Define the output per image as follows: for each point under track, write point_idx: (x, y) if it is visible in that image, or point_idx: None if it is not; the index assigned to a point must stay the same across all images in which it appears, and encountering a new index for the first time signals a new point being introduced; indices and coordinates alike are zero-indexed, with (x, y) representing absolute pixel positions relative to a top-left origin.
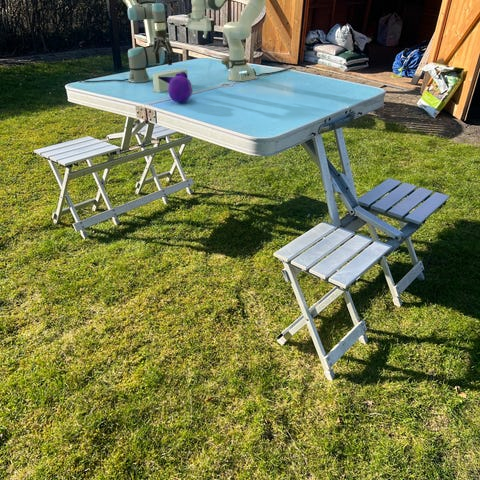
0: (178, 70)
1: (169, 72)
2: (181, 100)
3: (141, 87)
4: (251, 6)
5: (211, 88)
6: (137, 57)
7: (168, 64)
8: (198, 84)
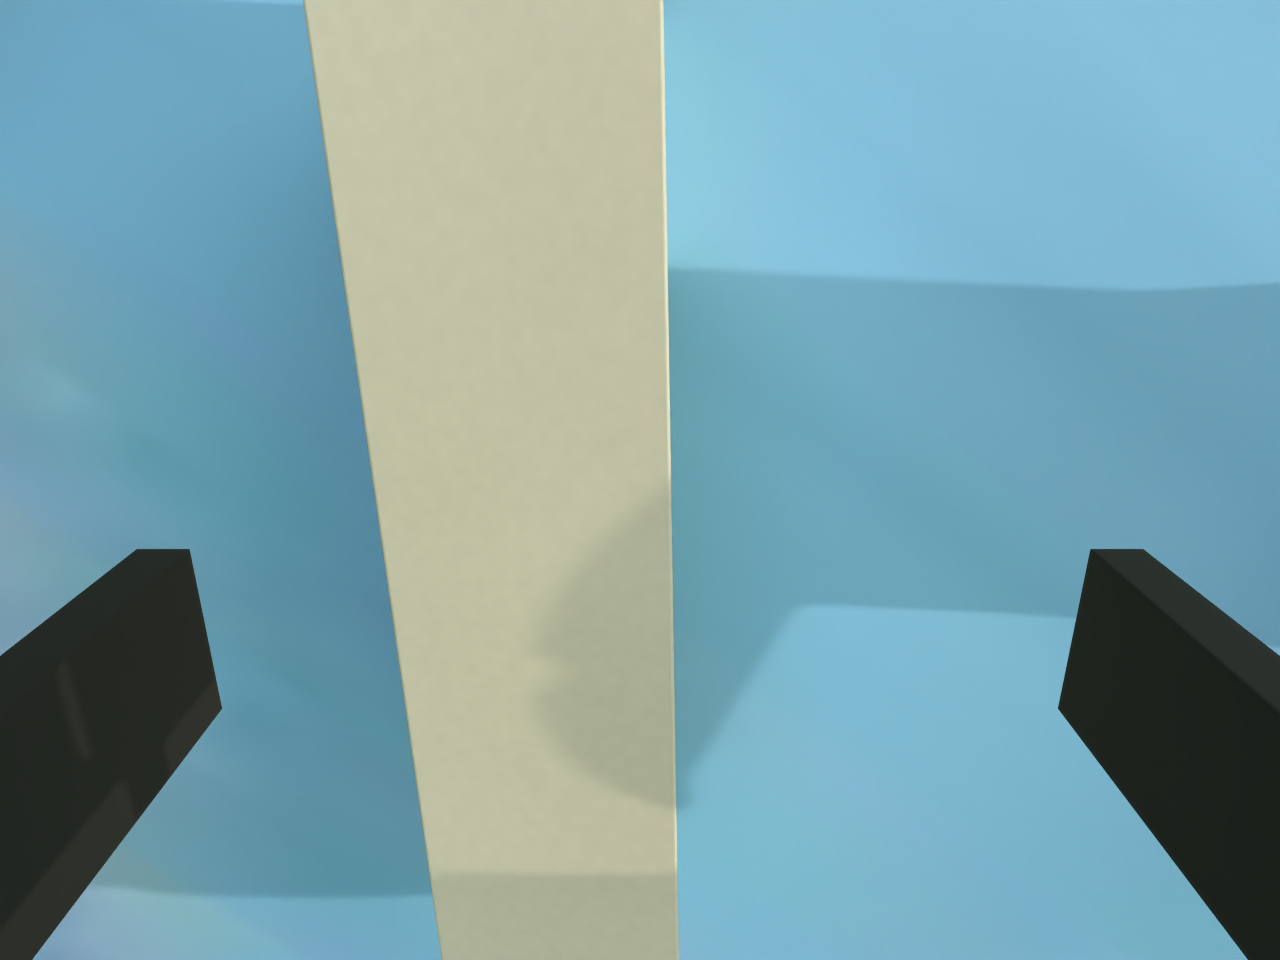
0: (557, 888)
1: (493, 569)
2: None
3: (1269, 96)
4: None
5: None
6: None
7: (141, 565)
8: None
